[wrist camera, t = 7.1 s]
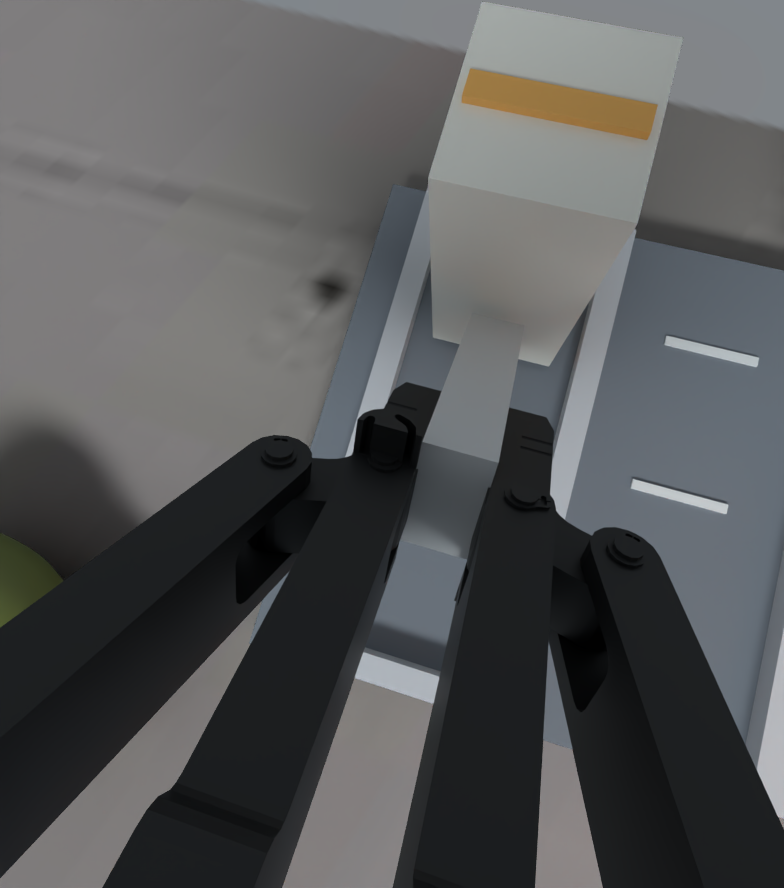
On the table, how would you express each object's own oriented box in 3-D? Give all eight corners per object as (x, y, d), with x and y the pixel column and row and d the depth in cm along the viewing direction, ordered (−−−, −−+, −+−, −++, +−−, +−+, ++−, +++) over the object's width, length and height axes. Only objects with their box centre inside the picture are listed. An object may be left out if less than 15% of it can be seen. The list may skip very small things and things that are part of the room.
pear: (-154, 490, 17) (163, 642, 17) (-36, 493, 22) (206, 610, 22) (-266, 673, 16) (66, 829, 17) (-117, 632, 22) (133, 751, 22)
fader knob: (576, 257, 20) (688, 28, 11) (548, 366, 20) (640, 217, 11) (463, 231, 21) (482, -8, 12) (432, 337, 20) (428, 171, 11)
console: (1070, 359, 20) (1149, 336, 18) (1001, 877, 18) (1083, 925, 16) (396, 207, 23) (391, 170, 21) (262, 636, 21) (240, 647, 19)
